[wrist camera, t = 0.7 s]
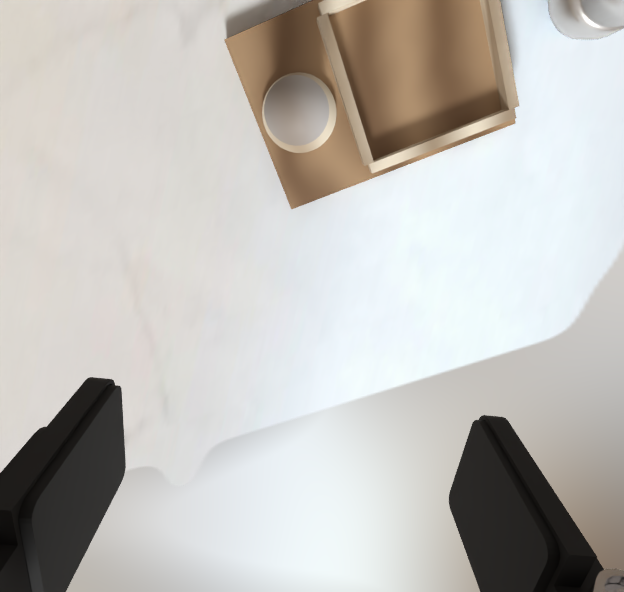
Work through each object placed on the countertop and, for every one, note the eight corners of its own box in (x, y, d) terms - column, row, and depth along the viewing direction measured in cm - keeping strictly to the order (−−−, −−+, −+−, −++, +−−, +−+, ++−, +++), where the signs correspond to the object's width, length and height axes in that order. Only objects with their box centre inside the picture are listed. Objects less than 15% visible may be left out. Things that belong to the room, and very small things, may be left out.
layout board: (472, -67, 32) (547, -154, 22) (509, 123, 37) (584, 123, 27) (227, 42, 35) (194, 9, 25) (291, 206, 39) (286, 235, 29)
